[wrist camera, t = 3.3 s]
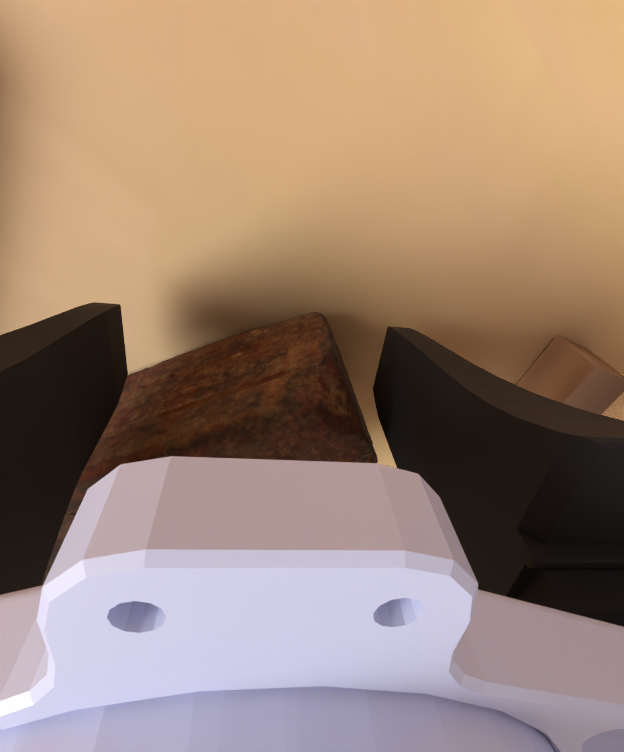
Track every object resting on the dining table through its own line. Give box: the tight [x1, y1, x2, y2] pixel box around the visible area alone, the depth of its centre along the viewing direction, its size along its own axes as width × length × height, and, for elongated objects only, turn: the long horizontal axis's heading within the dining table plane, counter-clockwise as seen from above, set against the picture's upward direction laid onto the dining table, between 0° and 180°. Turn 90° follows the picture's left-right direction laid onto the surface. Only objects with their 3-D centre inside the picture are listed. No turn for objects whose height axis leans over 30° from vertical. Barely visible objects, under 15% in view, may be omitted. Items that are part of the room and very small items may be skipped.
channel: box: [516, 335, 624, 415], centre depth 15 cm, size 29×26×2 cm
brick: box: [41, 312, 378, 586], centre depth 12 cm, size 11×4×5 cm, turn 110°
